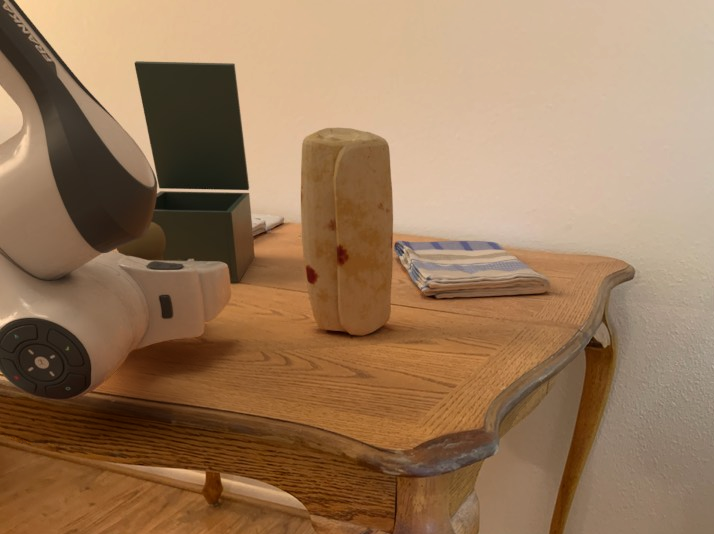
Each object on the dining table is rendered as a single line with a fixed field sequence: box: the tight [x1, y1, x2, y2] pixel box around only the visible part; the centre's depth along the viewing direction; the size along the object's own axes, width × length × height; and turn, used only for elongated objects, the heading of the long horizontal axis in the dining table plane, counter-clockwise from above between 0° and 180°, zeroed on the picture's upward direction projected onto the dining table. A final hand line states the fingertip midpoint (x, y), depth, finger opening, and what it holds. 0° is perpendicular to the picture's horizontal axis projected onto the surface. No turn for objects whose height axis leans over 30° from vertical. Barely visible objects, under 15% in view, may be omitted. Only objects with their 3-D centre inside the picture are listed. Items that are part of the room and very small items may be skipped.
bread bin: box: [151, 190, 255, 284], centre depth 105 cm, size 15×13×9 cm
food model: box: [300, 127, 394, 337], centre depth 81 cm, size 10×7×20 cm
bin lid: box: [134, 60, 250, 191], centre depth 105 cm, size 16×13×5 cm
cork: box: [116, 222, 166, 261], centre depth 83 cm, size 6×6×11 cm
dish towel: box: [393, 240, 551, 300], centre depth 107 cm, size 17×24×3 cm
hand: (145, 265), depth 83 cm, fingers open, 8 cm apart
